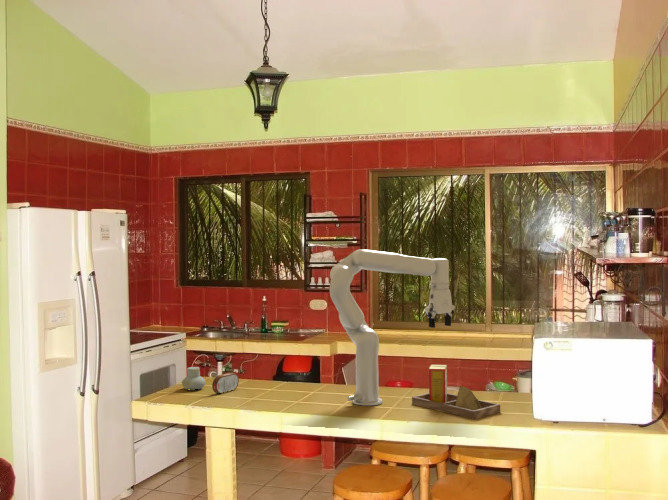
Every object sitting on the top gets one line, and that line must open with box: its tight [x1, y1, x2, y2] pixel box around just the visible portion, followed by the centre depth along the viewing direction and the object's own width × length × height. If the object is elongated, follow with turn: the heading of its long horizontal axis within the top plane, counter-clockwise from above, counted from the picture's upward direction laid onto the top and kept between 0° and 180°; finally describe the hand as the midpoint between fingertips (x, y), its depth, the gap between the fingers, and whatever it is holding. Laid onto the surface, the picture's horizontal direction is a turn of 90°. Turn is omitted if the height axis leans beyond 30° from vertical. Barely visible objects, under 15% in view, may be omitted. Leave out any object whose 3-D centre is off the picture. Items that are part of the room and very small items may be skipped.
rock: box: [455, 385, 482, 410], centre depth 277 cm, size 11×9×10 cm
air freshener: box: [181, 366, 206, 391], centre depth 326 cm, size 11×8×10 cm
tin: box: [211, 372, 240, 394], centre depth 319 cm, size 15×3×8 cm, turn 144°
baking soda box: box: [428, 364, 448, 403], centre depth 290 cm, size 10×6×16 cm
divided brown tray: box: [411, 392, 501, 420], centre depth 284 cm, size 16×33×3 cm, turn 39°
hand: (439, 326), depth 300 cm, fingers open, 9 cm apart
